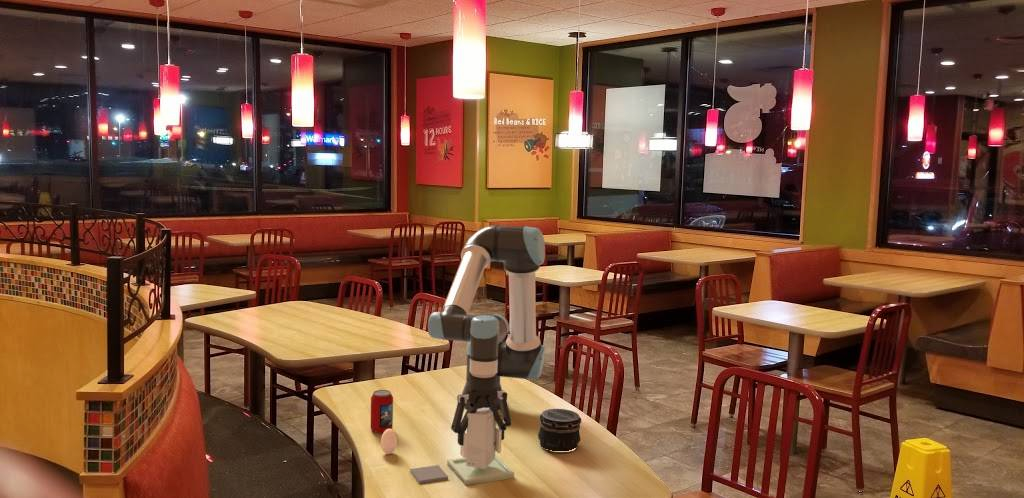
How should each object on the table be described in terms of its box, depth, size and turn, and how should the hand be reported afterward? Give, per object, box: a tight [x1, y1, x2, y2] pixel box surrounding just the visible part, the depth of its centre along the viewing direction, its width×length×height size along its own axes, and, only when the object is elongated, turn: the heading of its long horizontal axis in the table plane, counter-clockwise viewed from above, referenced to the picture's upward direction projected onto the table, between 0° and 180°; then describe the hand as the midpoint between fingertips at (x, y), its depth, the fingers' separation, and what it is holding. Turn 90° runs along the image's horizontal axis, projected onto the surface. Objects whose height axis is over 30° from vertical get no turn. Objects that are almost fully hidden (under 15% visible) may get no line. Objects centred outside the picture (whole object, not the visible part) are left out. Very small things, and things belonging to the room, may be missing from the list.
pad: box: [409, 464, 449, 485], centre depth 213 cm, size 8×8×1 cm
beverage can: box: [370, 389, 394, 434], centre depth 244 cm, size 7×7×12 cm
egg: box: [380, 428, 398, 455], centre depth 226 cm, size 5×5×7 cm
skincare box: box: [466, 408, 497, 469], centre depth 215 cm, size 8×6×15 cm
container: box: [537, 408, 582, 451], centre depth 236 cm, size 13×13×10 cm
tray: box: [446, 454, 515, 486], centre depth 216 cm, size 14×14×2 cm
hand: (480, 453), depth 216 cm, fingers closed on skincare box, 9 cm apart
